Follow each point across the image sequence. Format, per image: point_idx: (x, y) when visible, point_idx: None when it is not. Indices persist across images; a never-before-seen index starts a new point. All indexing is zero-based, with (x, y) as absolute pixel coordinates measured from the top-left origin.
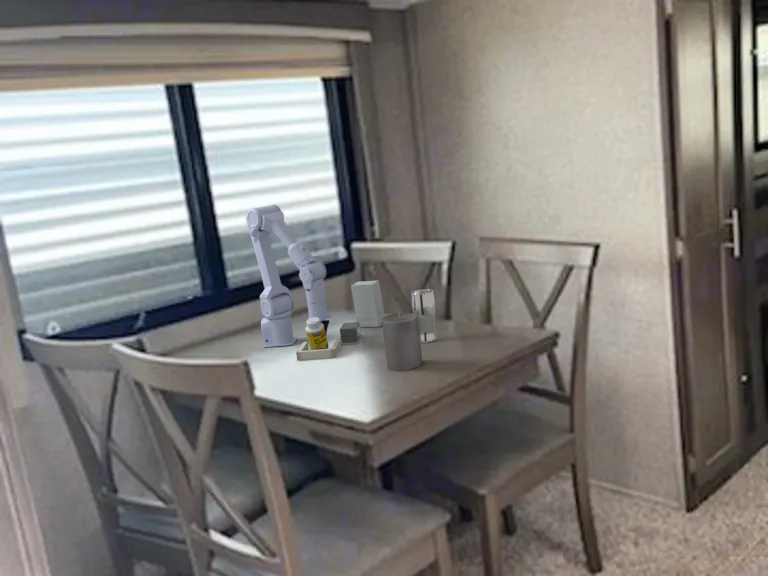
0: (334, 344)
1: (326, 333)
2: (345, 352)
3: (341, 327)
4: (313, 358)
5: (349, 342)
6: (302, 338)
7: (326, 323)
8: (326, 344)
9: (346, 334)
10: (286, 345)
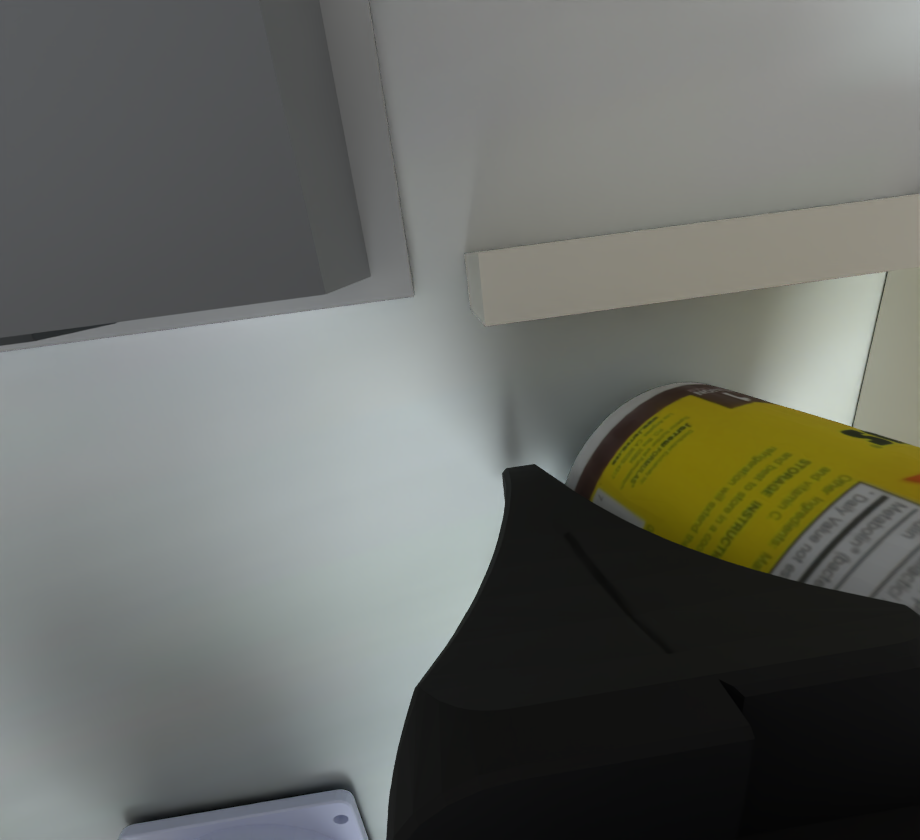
0: (805, 264)
1: (523, 536)
2: (759, 96)
3: (98, 307)
4: None
5: (341, 133)
6: (97, 789)
7: (844, 718)
8: (765, 403)
9: (322, 133)
10: (360, 818)
